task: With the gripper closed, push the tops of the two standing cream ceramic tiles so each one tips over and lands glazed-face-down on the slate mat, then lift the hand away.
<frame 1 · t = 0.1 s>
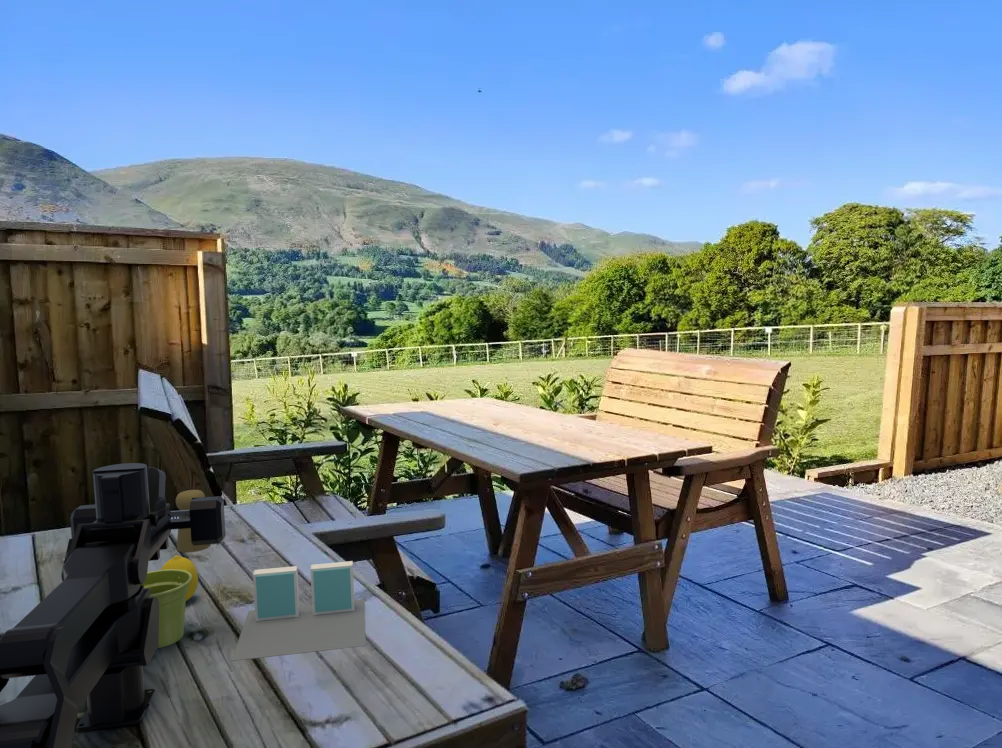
hand: (166, 507, 103), 17 cm above the table, tool horizontal, fingers open, 9 cm apart
plant pot: (158, 643, 96), on the table
lemon: (180, 606, 108), on the table
tile a: (277, 616, 102), point 1 cm above the table, touching slate mat
cork: (193, 547, 134), on the table
tile b: (333, 610, 104), point 1 cm above the table, touching slate mat
slate mat: (304, 631, 99), on the table
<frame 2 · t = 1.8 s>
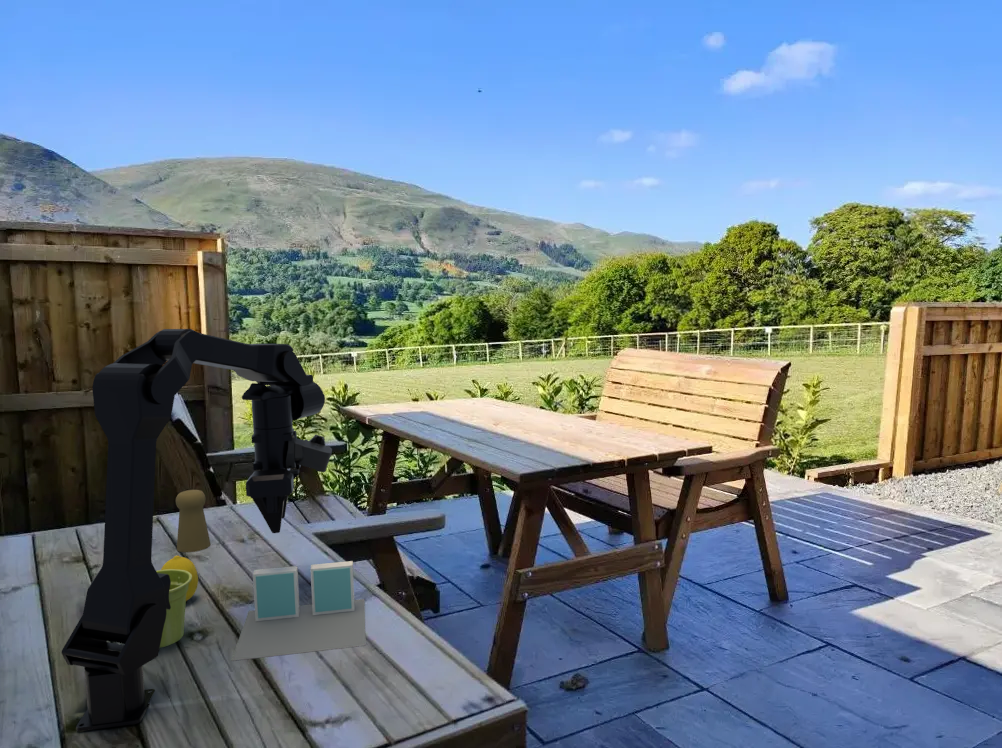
hand: (278, 525, 108), 12 cm above the table, tool pointing down, fingers open, 7 cm apart
nothing on the table moved.
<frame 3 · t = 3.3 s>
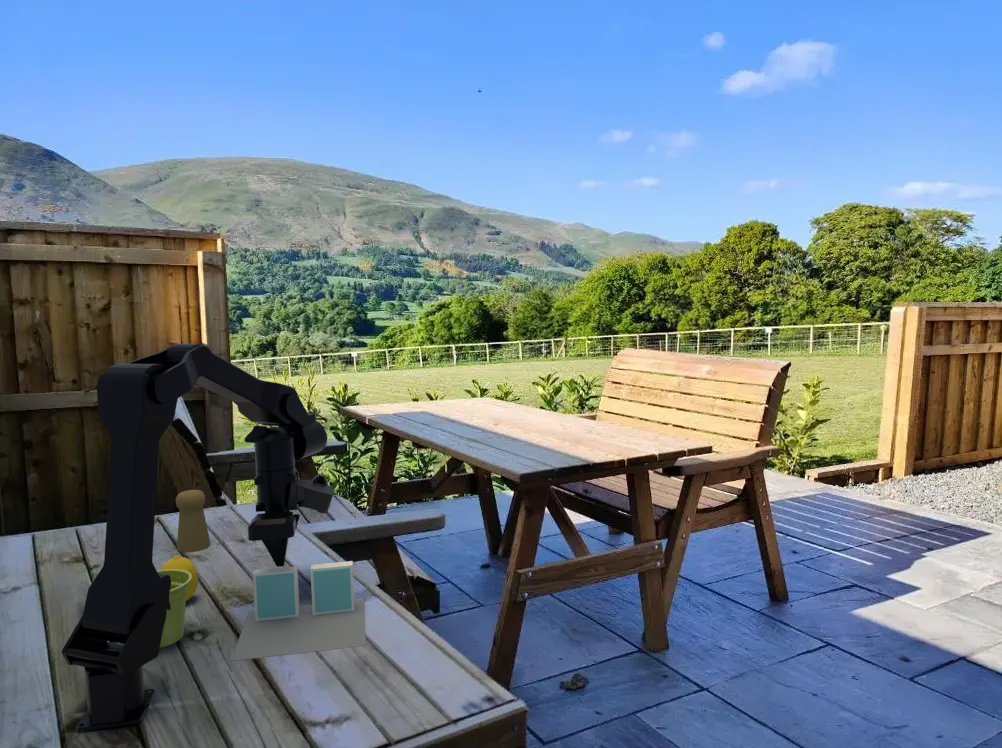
hand: (280, 565, 108), 6 cm above the table, tool pointing down, fingers closed
nothing on the table moved.
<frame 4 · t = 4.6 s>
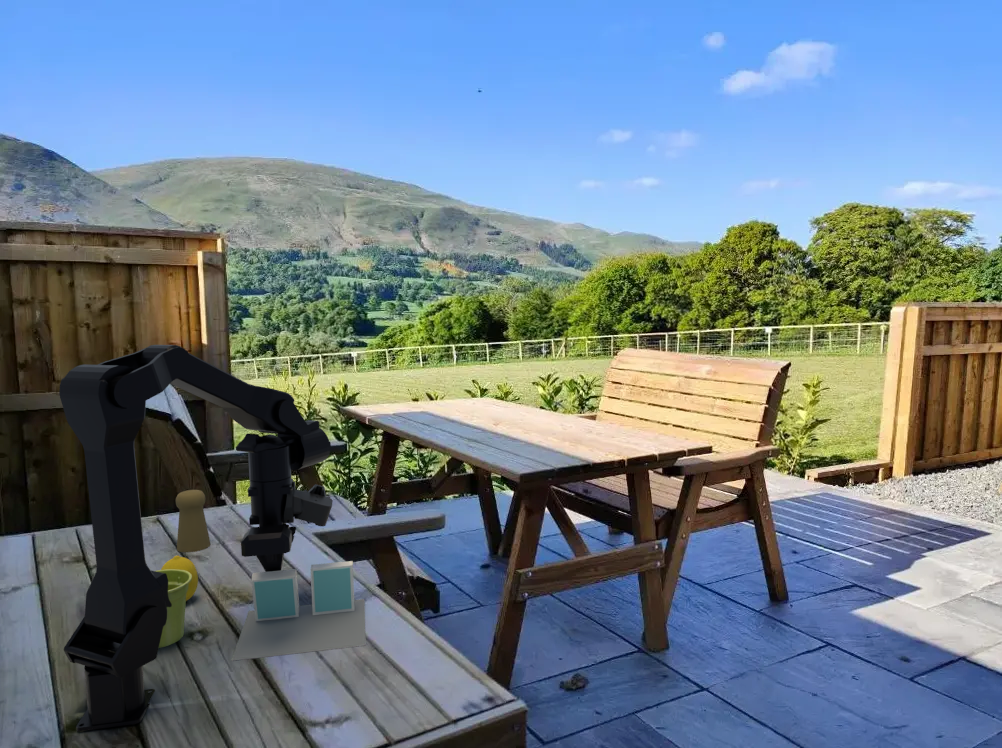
hand: (275, 581, 102), 6 cm above the table, tool pointing down, fingers closed
tile a: (277, 614, 102), point 1 cm above the table, tilted 14°, touching slate mat
everything else where it was.
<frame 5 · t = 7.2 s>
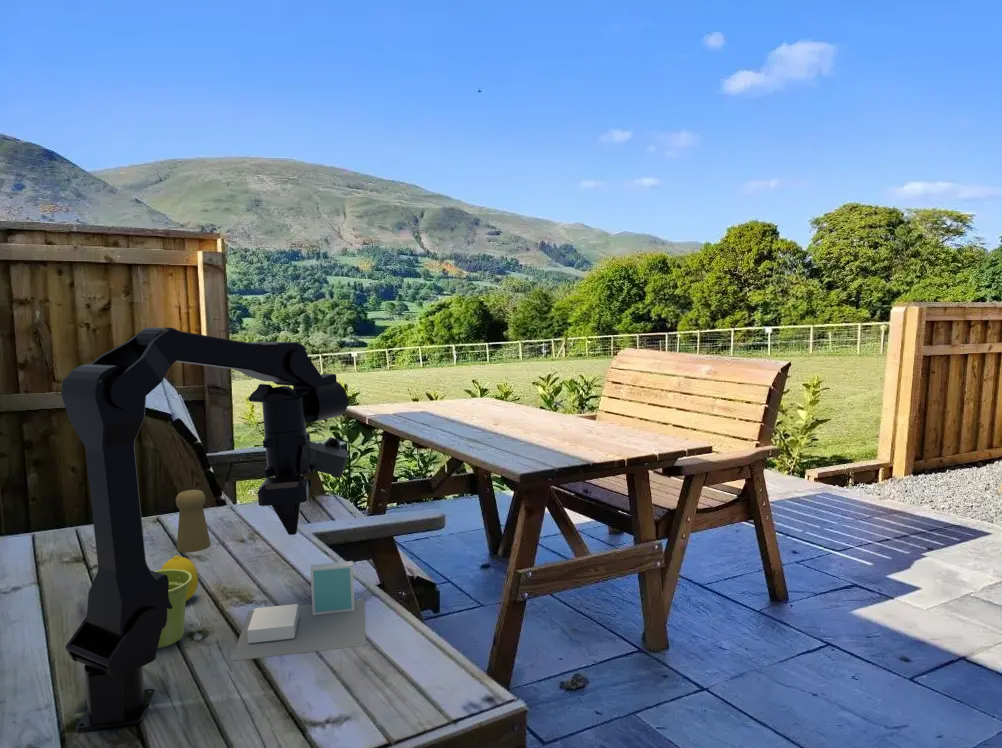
hand: (292, 534, 102), 13 cm above the table, tool pointing down, fingers closed
tile a: (276, 612, 101), point 2 cm above the table, tilted 90°, touching slate mat
everything else where it was.
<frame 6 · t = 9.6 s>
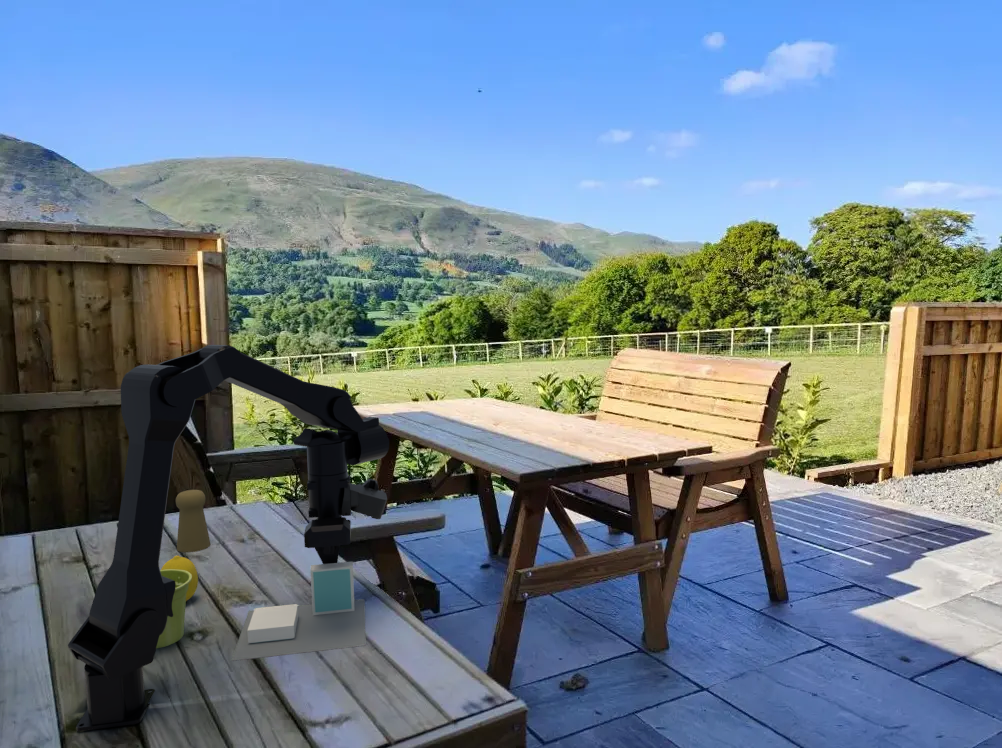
hand: (331, 573, 105), 6 cm above the table, tool pointing down, fingers closed
tile b: (333, 610, 104), point 1 cm above the table, touching gripper, slate mat
everything else where it was.
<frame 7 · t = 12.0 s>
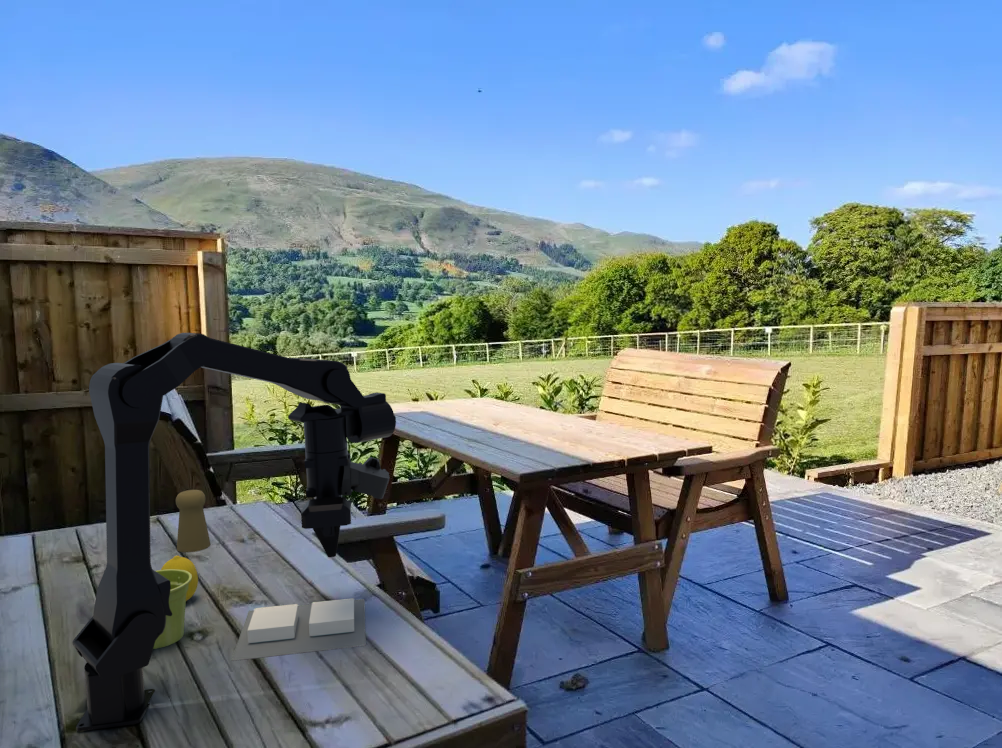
hand: (332, 556, 99), 10 cm above the table, tool pointing down, fingers closed
tile b: (333, 606, 103), point 2 cm above the table, tilted 90°, touching slate mat
everything else where it was.
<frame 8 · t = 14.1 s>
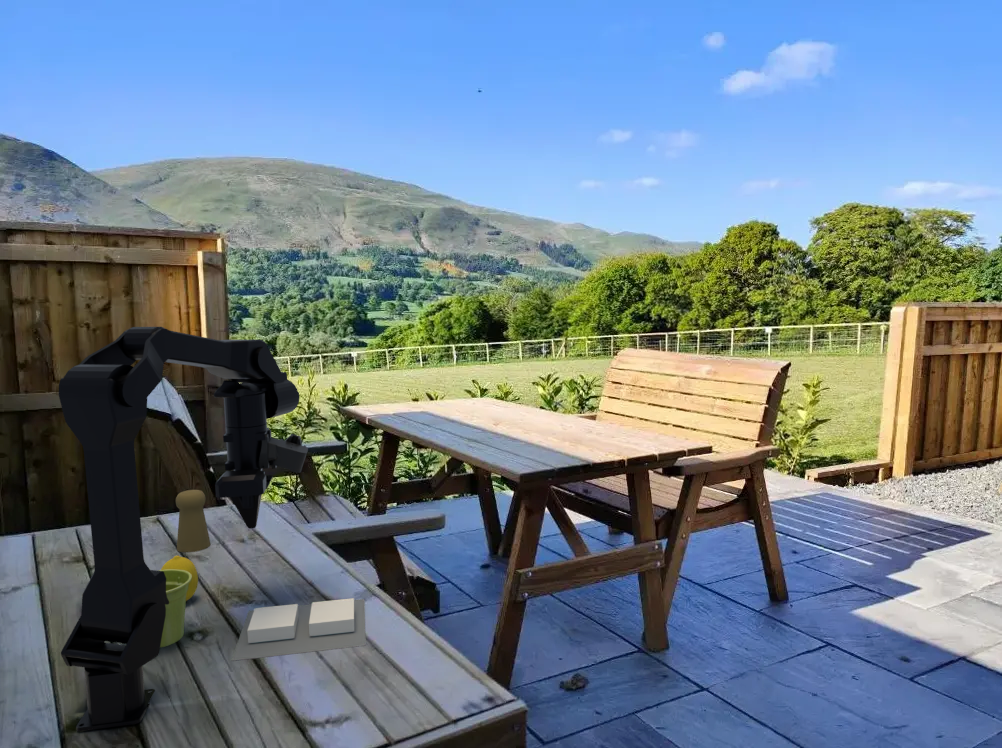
hand: (252, 527, 104), 13 cm above the table, tool pointing down, fingers closed
nothing on the table moved.
at the end: tile a tilted 90°; tile b tilted 90°; tile a inside the target area on the slate mat (5.3 cm from its centre), point 1.7 cm above the slate mat's base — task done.
